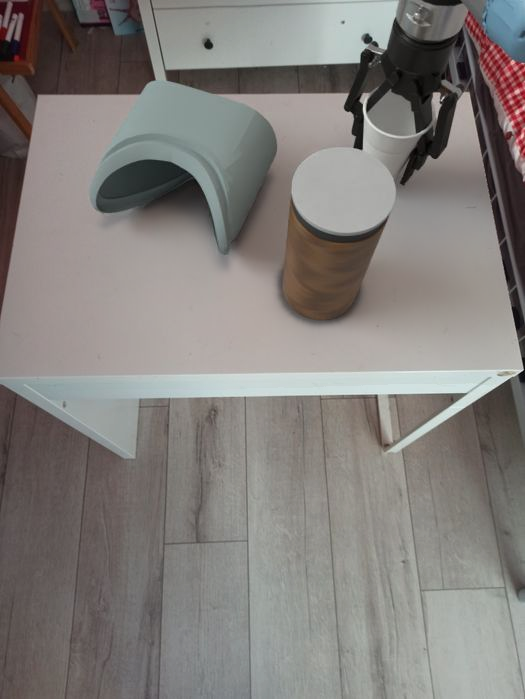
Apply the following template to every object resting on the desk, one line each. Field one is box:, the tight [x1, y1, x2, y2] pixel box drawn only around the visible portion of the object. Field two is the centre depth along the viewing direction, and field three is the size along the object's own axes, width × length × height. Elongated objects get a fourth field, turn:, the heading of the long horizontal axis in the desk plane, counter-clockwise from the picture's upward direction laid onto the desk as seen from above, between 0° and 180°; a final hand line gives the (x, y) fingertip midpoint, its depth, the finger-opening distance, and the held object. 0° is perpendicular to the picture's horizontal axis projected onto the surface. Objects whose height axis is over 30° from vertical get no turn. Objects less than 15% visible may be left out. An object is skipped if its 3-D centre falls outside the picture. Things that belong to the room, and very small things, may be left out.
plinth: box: [282, 192, 391, 321], centre depth 63 cm, size 11×11×20 cm
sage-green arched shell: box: [88, 79, 278, 256], centre depth 71 cm, size 22×19×13 cm
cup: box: [362, 86, 437, 180], centre depth 71 cm, size 10×10×11 cm
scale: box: [290, 146, 397, 243], centre depth 52 cm, size 11×11×2 cm
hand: (381, 165), depth 76 cm, fingers closed on cup, 8 cm apart
